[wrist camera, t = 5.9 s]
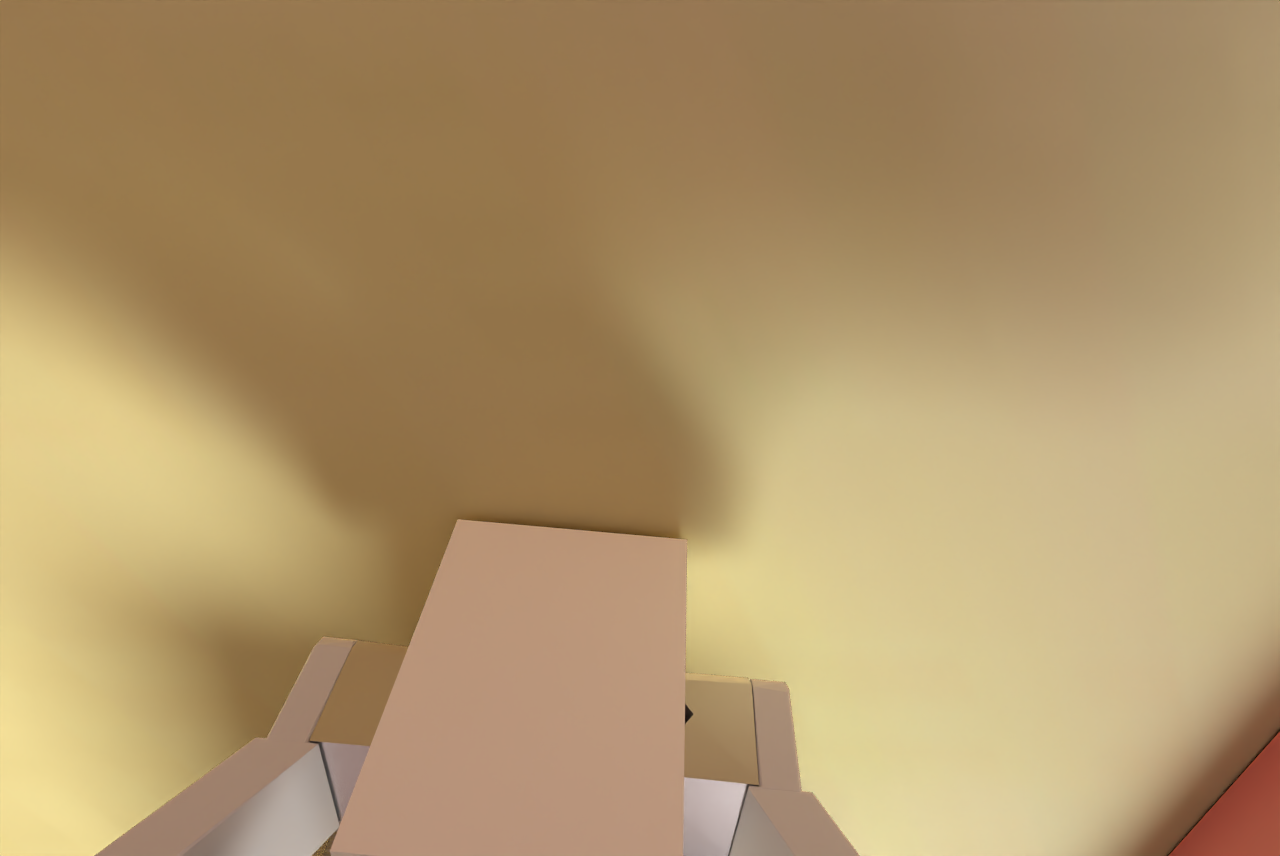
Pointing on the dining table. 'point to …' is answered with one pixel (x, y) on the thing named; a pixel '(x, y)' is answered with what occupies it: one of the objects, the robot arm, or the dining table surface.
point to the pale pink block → (534, 703)
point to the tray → (1242, 814)
